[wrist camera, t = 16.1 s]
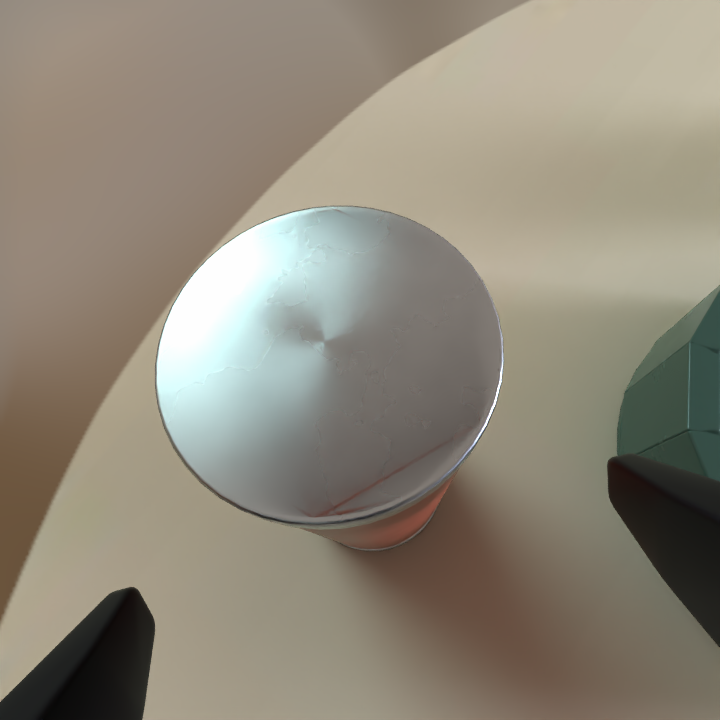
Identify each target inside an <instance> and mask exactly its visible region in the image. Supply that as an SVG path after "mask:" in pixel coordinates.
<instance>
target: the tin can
mask: <svg viewBox="0 0 720 720" xmlns="http://www.w3.org/2000/svg"><path fill="white" fill-rule="evenodd" d="M503 365H504V351H503V337H502V331H501V326H500V321H499V317H498V314H497V311H496V309H495V306H494V303H493V300H492V298H491V296H490V294H489V292H488V290H487V288H486V286H485V284H484V282H483V280H482V279H481V278H480V276H479V275H478V273H477V272H476V271H475V269H474V268H473V266H472V265H471V264H470V263H469V262H468V260H467V259H466V258H465V257H464V256H463V255H462V254H461V253H460V252H459V251H458V250H457V249H456V248H455V247H454V246H452V245H451V244H450V243H449V242H448V241H446V240H445V239H444V238H443V237H441V236H440V235H438V234H436V233H435V232H433V231H432V230H430V229H429V228H427V227H425V226H423V225H421V224H419V223H417V222H415V221H413V220H411V219H408V218H405V217H403V216H400V215H397V214H394V213H391V212H387V211H382V210H378V209H373V208H367V207H358V206H324V207H314V208H308V209H303V210H298V211H293V212H290V213H287V214H284V215H280V216H277V217H274V218H272V219H269V220H267V221H264V222H262V223H260V224H257V225H255V226H253V227H252V228H250V229H248V230H246V231H244V232H243V233H241V234H239V235H237V236H236V237H235V238H233V239H232V240H230V241H229V242H227V243H226V244H224V245H223V246H222V247H220V248H219V249H218V250H217V251H216V252H215V253H214V254H212V255H211V256H210V257H209V258H208V259H207V260H206V261H205V262H204V263H203V264H202V265H201V266H200V267H199V268H198V269H197V270H196V271H195V272H194V274H193V275H192V276H191V278H190V279H189V280H188V282H187V283H186V284H185V286H184V287H183V288H182V290H181V291H180V293H179V295H178V297H177V298H176V300H175V302H174V304H173V305H172V307H171V309H170V312H169V314H168V316H167V319H166V321H165V323H164V326H163V329H162V333H161V337H160V340H159V344H158V349H157V356H156V363H155V389H156V396H157V404H158V409H159V412H160V416H161V419H162V423H163V426H164V429H165V431H166V433H167V436H168V438H169V440H170V442H171V444H172V446H173V448H174V450H175V451H176V453H177V454H178V456H179V457H180V459H181V460H182V462H183V463H184V465H185V466H186V467H187V469H188V470H189V471H190V472H191V473H192V474H193V475H194V476H195V477H196V478H197V479H198V481H199V482H200V483H201V484H203V485H204V486H205V487H206V488H208V489H209V490H210V491H211V492H213V493H214V494H215V495H216V496H218V497H219V498H220V499H222V500H224V501H225V502H227V503H229V504H231V505H232V506H234V507H236V508H238V509H239V510H241V511H244V512H246V513H249V514H251V515H254V516H256V517H259V518H262V519H264V520H267V521H270V522H274V523H278V524H282V525H287V526H291V527H295V528H301V529H304V530H306V531H309V532H312V533H315V534H318V535H321V536H323V537H326V538H329V539H332V540H335V541H337V542H339V543H340V544H342V545H345V546H348V547H350V548H354V549H358V550H363V551H382V550H387V549H391V548H394V547H397V546H400V545H402V544H404V543H406V542H408V541H409V540H411V539H412V538H414V537H415V536H416V535H417V534H419V533H420V532H421V531H422V530H423V529H424V528H425V526H426V525H427V524H428V523H429V521H430V520H431V518H432V517H433V515H434V513H435V512H436V509H437V507H438V505H439V503H440V500H441V498H442V497H443V495H444V493H445V492H446V490H447V488H448V486H449V485H450V483H451V481H452V479H453V478H454V476H455V474H456V472H457V471H458V469H459V467H460V466H461V465H462V464H463V462H464V461H465V460H466V459H467V458H468V456H469V455H470V454H471V452H472V450H473V449H474V447H475V445H476V444H477V442H478V440H479V439H480V437H481V436H482V434H483V432H484V431H485V429H486V427H487V425H488V423H489V420H490V418H491V415H492V413H493V411H494V408H495V406H496V403H497V399H498V395H499V391H500V387H501V383H502V374H503Z"/></svg>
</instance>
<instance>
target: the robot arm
mask: <svg viewBox="0 0 720 720" xmlns="http://www.w3.org/2000/svg"><path fill="white" fill-rule="evenodd" d="M607 471H608V492H609V498H610V501H611V503H612V505H613V507H614V508H615V510H616V511H617V513H618V514H619V516H620V517H621V519H622V520H623V522H624V523H625V524H626V526H627V527H628V529H629V530H630V532H631V533H632V535H633V536H634V538H635V539H636V541H637V542H638V544H639V545H640V546H641V548H642V549H643V551H644V552H645V554H646V555H647V557H648V558H649V560H650V561H651V563H652V564H653V566H654V567H655V568H656V570H657V571H658V573H659V574H660V575H661V577H662V578H663V580H664V581H665V582H666V583H667V585H668V586H669V587H670V588H671V590H672V591H673V592H674V593H675V594H676V596H677V597H678V598H679V599H680V600H681V602H682V603H683V604H684V605H685V606H686V608H687V609H688V610H689V611H690V612H691V614H692V615H693V616H694V617H695V618H696V620H697V621H698V622H699V623H700V624H701V626H702V627H703V628H704V629H705V630H706V632H707V633H708V634H709V635H710V636H711V638H712V639H713V640H714V641H715V642H716V644H717V645H718V646H719V647H720V481H718V480H714V479H711V478H708V477H705V476H702V475H699V474H696V473H693V472H689V471H686V470H683V469H680V468H677V467H674V466H671V465H668V464H665V463H661V462H658V461H655V460H652V459H649V458H646V457H643V456H640V455H636V454H633V453H627V454H623V455H619V456H616V457H612V458H611V459H609V461H608V464H607ZM154 635H155V622H154V618H153V616H152V614H151V612H150V610H149V608H148V607H147V605H146V603H145V601H144V599H143V598H142V596H141V594H140V592H139V591H138V589H136V588H134V587H129V588H125V589H121V590H117V591H114V592H112V593H110V594H109V595H108V596H107V597H106V598H105V599H104V600H103V601H102V602H101V603H100V604H99V605H98V606H97V607H96V608H95V609H94V610H93V611H92V612H90V613H89V614H88V615H87V616H86V617H85V618H84V619H83V620H82V621H81V622H80V623H79V624H78V625H77V626H76V627H75V628H74V629H73V630H72V631H71V632H70V633H69V634H68V635H67V636H66V637H65V638H64V639H63V640H62V641H61V642H60V643H59V644H58V645H57V646H56V647H55V648H54V649H53V650H52V651H51V652H50V653H49V654H48V655H47V656H46V657H45V658H44V659H43V660H42V661H41V662H40V663H39V664H38V665H37V666H36V667H35V668H34V669H33V670H32V671H31V672H30V673H29V674H28V675H27V676H26V677H25V678H24V679H23V680H22V681H21V682H20V683H19V684H18V685H17V686H16V687H15V688H14V689H13V690H12V691H11V692H10V693H9V694H8V695H7V696H6V697H5V698H4V699H3V700H2V701H1V702H0V720H142V718H143V712H144V706H145V699H146V692H147V685H148V678H149V671H150V664H151V656H152V649H153V642H154Z"/></svg>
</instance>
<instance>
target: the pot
mask: <svg viewBox="0 0 720 720" xmlns="http://www.w3.org/2000/svg"><path fill="white" fill-rule="evenodd" d="M627 453H633V454H636V455H640V456H643V457H646V458H649V459H652V460H655V461H658V462H661V463H665V464H668V465H671V466H674V467H677V468H680V469H683V470H686V471H689V472H693V473H696V474H699V475H702V476H705V477H708V478H711V479H714V480H718V481H720V285H719V286H718V287H717V288H716V289H715V290H714V291H712V292H711V293H710V294H709V295H708V296H707V297H706V298H704V299H703V300H702V301H701V302H700V303H699V304H698V305H697V306H695V307H694V308H693V309H692V310H691V311H690V312H689V313H688V314H686V315H685V316H684V317H683V318H682V319H681V320H680V321H678V322H677V323H676V324H675V325H674V326H673V327H672V328H671V329H669V330H668V331H667V332H666V333H665V334H664V335H663V336H662V337H660V338H659V339H658V340H657V341H656V342H655V344H654V346H653V347H652V349H651V350H650V352H649V353H648V355H647V356H646V357H645V359H644V360H643V361H642V363H641V364H640V365H639V367H638V368H637V369H636V371H635V373H634V375H633V377H632V379H631V381H630V383H629V385H628V387H627V389H626V391H625V393H624V399H623V402H622V405H621V409H620V416H619V422H618V429H617V454H618V456H619V455H623V454H627Z"/></svg>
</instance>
